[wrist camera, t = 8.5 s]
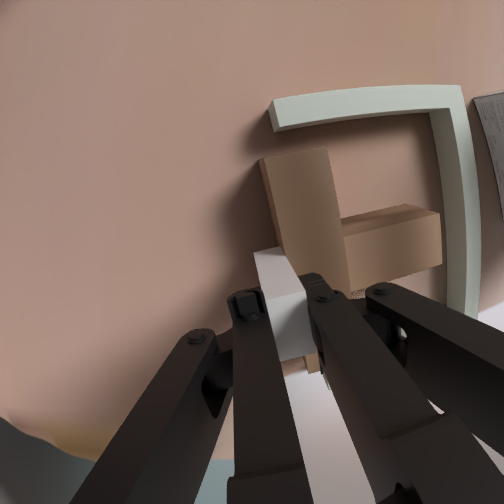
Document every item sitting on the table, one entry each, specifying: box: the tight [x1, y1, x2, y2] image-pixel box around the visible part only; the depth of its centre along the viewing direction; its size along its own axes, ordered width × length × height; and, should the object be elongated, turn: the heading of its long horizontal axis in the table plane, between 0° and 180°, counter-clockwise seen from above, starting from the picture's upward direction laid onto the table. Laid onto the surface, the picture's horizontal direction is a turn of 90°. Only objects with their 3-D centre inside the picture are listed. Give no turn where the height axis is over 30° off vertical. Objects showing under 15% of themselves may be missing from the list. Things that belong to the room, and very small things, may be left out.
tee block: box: [257, 146, 442, 373], centre depth 17 cm, size 9×12×4 cm
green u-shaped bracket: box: [268, 85, 481, 390], centre depth 18 cm, size 12×18×2 cm
